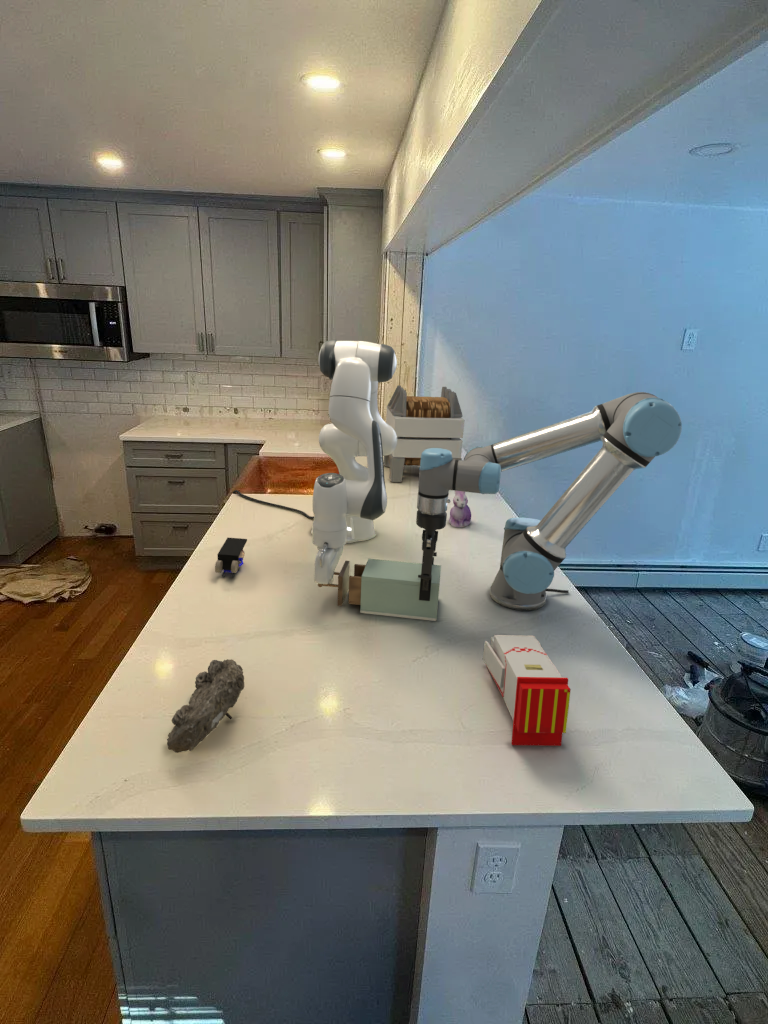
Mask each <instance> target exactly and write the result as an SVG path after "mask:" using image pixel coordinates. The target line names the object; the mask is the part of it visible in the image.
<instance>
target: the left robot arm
mask: <svg viewBox="0 0 768 1024" xmlns="http://www.w3.org/2000/svg"><path fill="white" fill-rule="evenodd" d="M317 357H318V358H317V359H318V360H317V361H318V366H319V371H320V372H321V373H322V374H323V376H325V377H326V378H328V379H329V380H330V381H331V380H332V381H331V385H330V390H329V398H328V418H329V421H330V422H331V423H326V424H325V425H323V427H321V429H320V431H319V433H318V444H319V447H320V449H321V450H322V452H323V453H324V454H325V455H326V456H329V458H330V459H331V460H332V461H333V462H334V464H335V465H336V467H337V470H338V473H336V472H326V473H322V474H320V475H318V476H317V477H316V478H315V481H314V485H313V493H312V514H313V516H310V515H309V514H307V513H306V512H305V511H303V510H300V509H297V508H294V507H289V506H285V505H281V504H277V503H273V502H269V501H264V500H260V499H257V498H254V497H251V496H248V495H246V494H244V493H242V492H240V491H239V490H238V489H235V490H233V492H232V494H236V493H237V494H238V496H240V497H242V498H245V499H247V500H250V501H252V502H256V503H259V504H263V505H268V506H271V507H276V508H278V509H279V508H280V509H284V510H288V511H292V512H296V513H299V514H301V515H303V516H304V517H305V518H306V519H308V520H313V521H312V528H311V530H310V533H311V536H312V544H313V545H314V546H315V547H316V548H317V550H318V551H317V552H316V554H315V559H314V574H313V576H314V577H313V580H314V583H315V584H317V585H318V584H333V582H334V577H335V575H334V572H336V571H335V570H336V569H337V566H338V564H339V561H340V559H341V557H342V556H343V553H344V547H345V545H346V544H352V543H357V542H365V541H368V540H372V539H373V538H375V537H376V535H377V532H376V528H375V523H374V521H375V520H377V519H378V518H380V517H381V516H383V515H384V514H385V513H386V510H387V507H388V494H387V489H386V479H385V466H384V464H383V463H384V456H386V455H390V454H392V452H393V451H394V450H395V448H396V445H397V435H396V432H395V430H394V429H393V428H392V427H391V426H390V425H388V424H387V423H386V420H384V419H383V417H382V416H381V414H380V412H379V406H378V404H379V403H378V394H379V393H378V390H379V388H378V387H379V383H386V382H389V381H390V380H391V379H392V378H393V376H394V374H395V373H396V370H397V367H398V366H397V365H398V364H397V363H398V361H397V360H398V359H397V355H396V352H395V349H394V348H393V347H392V346H390V345H388V344H384V343H381V344H380V343H375V342H372V341H365V340H337V339H329V340H326V341H325V342H323V344H321V347H320V350H319V352H318V356H317ZM357 457H366V463H367V464H366V465H367V467H366V466H364V465H362V464H361V463H359V462H358V461H357V460H356V458H357Z"/></svg>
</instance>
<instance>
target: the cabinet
mask: <svg viewBox="0 0 768 1024" xmlns="http://www.w3.org/2000/svg"><path fill="white" fill-rule="evenodd" d="M365 565H366V566H365V569H364V571H363V574H362V578H361V605H359V607H360V610H359V613H360V614H366V615H375V616H376V615H377V616H386V617H395V618H403V619H404V618H406V619H414V620H421V621H422V620H424V621H433V622H437V619H438V608H439V596H440V586H441V585H440V584H441V573H442V565H441V564H434V565H432V572H431V575H432V580H431V592H430V601H423V600H419V593H420V580H421V578H418V575H421V570H422V562H421V563H420V562H410V561H402V560H401V561H400V560H390V559H389V560H388V559H380V558H370V557H369V558H367V561H366V564H365Z"/></svg>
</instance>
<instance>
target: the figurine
mask: <svg viewBox="0 0 768 1024" xmlns="http://www.w3.org/2000/svg"><path fill="white" fill-rule="evenodd" d="M452 503H453V506H452V507H451V508H450V511H449V518H448V519H449V520H448V523H449V524H450V525H451V527H454V528H464V527H468V526H469V525H470V524H471V520H472V511H471V508H470V506H469V505H468V503H469V499H468V497H467V495H466V492H464V491H454V496H453V498H452Z"/></svg>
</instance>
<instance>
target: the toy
mask: <svg viewBox="0 0 768 1024" xmlns="http://www.w3.org/2000/svg"><path fill="white" fill-rule="evenodd" d="M482 660H483V663H485V666H486V668H487V669H488V672H489V673H490V675H491V677H492V679H493V681H494V683H495V685H496V687H497V689H498V692H499V693H500V694H501V697H502V698H503V702H504V703H505V706H506V708H507V710H508V712H509V715H510V717H511V720H512V721H513V722H512V731H511V732H512V733H511V746H534V747H535V746H536V747H537V746H542V747H545V746H546V747H548V746H549V747H550V746H551V747H562V743H563V734H567V727H568V717H569V709H570V698H571V690H572V689H571V688H570V686H569V678H568V677H563V676H562V675H561V673H560V672H559V670H558V669H557V667H556V666H555V664H554V663H553V662H552V660H551V658H550V657H549V655H548V654H547V653H546V651H545V650H544V648H543V647H542V644H541V642H540V640H538V639H537V637H536V636H535V635H521V634H520V635H517V634H494V636H490V642H488V640H485V641H484V645H483V653H482Z"/></svg>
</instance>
